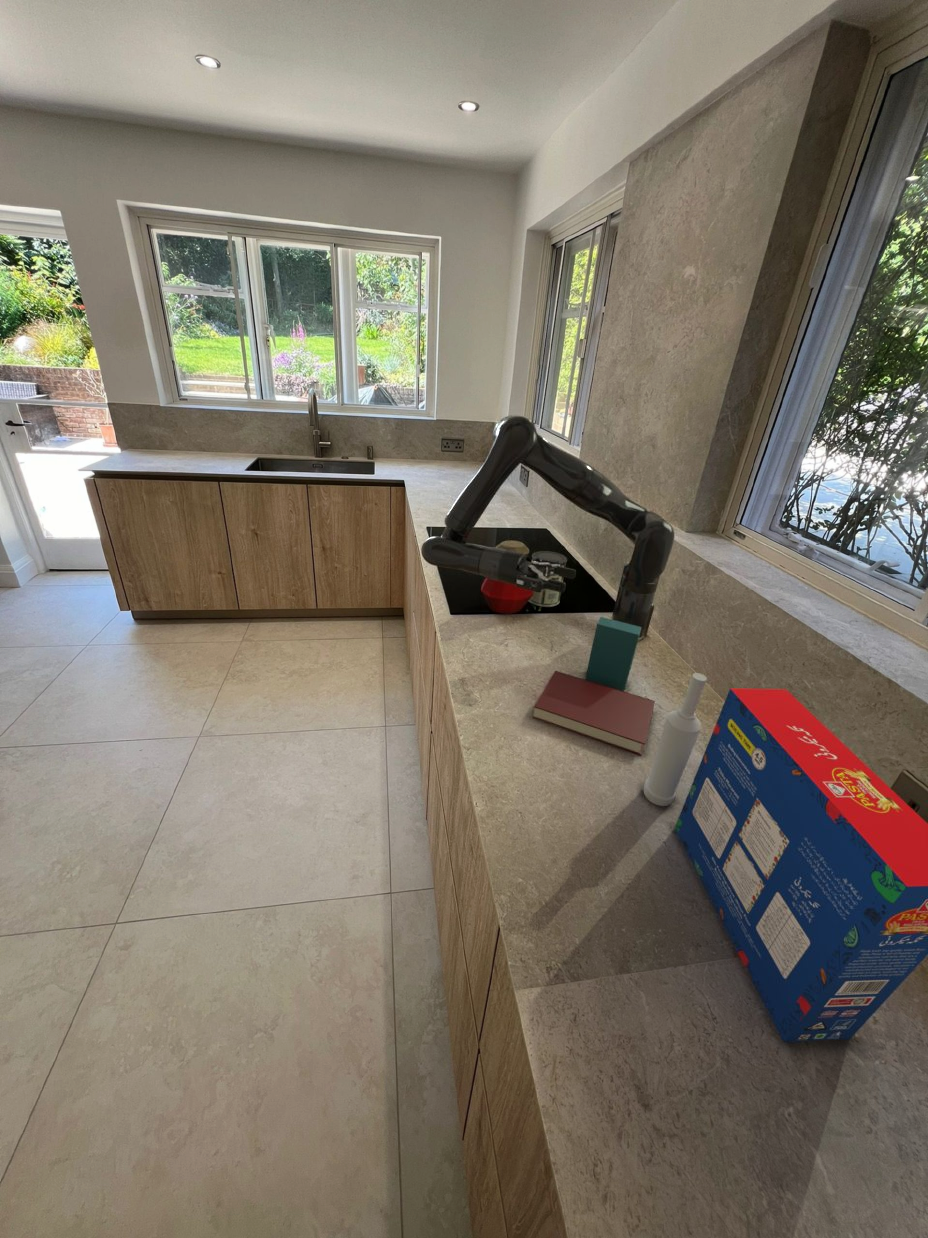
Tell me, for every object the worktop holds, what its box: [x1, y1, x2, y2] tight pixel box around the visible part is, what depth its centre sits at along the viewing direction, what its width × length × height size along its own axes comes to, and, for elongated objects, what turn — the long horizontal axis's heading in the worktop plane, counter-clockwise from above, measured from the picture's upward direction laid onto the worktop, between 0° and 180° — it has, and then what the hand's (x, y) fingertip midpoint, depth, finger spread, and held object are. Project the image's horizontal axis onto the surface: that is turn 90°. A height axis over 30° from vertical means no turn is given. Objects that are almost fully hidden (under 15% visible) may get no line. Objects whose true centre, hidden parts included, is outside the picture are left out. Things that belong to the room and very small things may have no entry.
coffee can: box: [528, 550, 568, 608], centre depth 149 cm, size 10×10×14 cm
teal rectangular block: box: [584, 616, 642, 692], centre depth 112 cm, size 9×4×15 cm, turn 64°
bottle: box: [643, 672, 708, 807], centre depth 80 cm, size 5×5×25 cm
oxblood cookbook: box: [532, 670, 656, 756], centre depth 103 cm, size 22×15×3 cm
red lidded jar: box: [480, 540, 533, 615], centre depth 141 cm, size 16×14×20 cm
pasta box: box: [674, 687, 928, 1043], centre depth 61 cm, size 28×8×28 cm, turn 4°
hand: (570, 581), depth 109 cm, fingers open, 8 cm apart
